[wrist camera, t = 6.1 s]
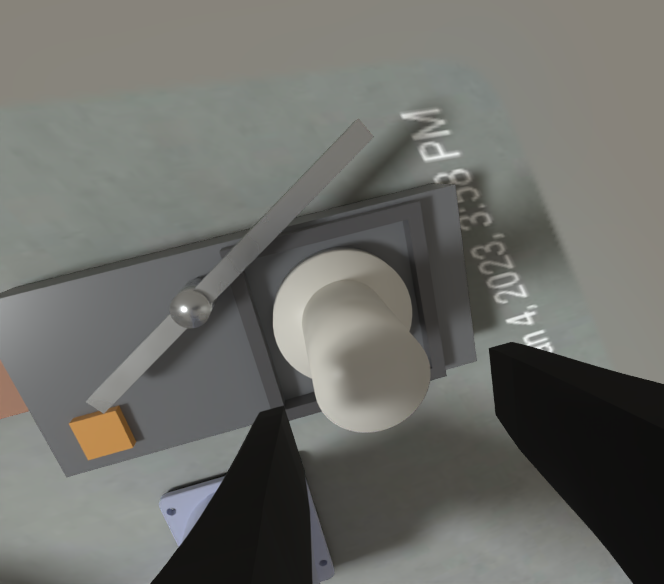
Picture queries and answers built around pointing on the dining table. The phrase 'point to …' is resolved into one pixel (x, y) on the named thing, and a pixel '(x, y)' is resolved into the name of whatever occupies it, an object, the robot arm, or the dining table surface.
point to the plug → (352, 338)
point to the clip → (230, 266)
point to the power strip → (216, 329)
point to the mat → (9, 396)
